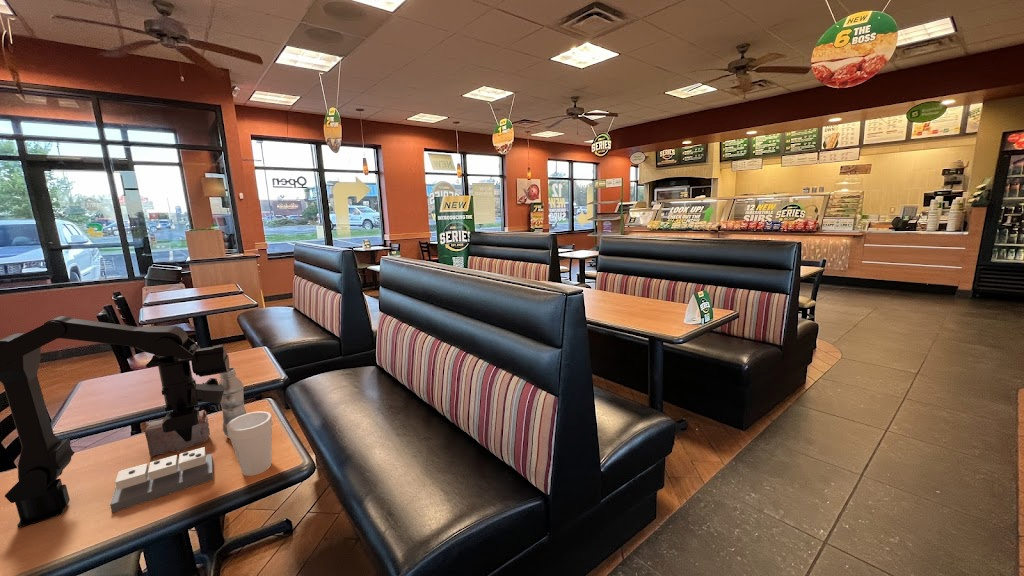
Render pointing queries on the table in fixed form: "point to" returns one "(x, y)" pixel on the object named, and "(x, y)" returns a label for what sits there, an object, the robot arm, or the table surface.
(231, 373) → the plastic bottle
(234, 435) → the foam cup
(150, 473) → the key two
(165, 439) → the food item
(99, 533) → the table surface
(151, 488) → the keypad board
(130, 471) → the key one
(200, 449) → the key three
